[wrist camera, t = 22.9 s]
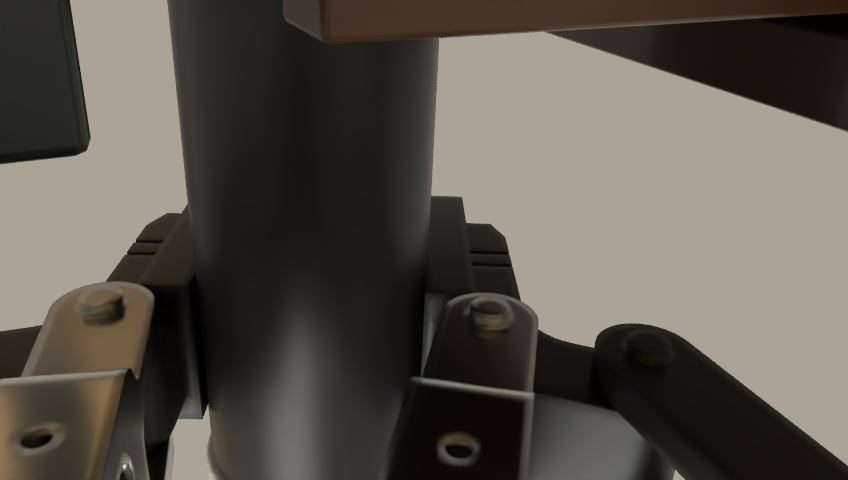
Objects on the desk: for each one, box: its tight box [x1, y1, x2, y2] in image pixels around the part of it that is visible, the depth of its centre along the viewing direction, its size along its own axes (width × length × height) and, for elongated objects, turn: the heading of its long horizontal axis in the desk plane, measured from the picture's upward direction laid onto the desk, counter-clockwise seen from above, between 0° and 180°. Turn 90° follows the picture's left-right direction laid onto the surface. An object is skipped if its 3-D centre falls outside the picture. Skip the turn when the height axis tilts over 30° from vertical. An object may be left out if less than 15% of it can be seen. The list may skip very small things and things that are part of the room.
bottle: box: [167, 0, 439, 480], centre depth 11 cm, size 3×3×10 cm
